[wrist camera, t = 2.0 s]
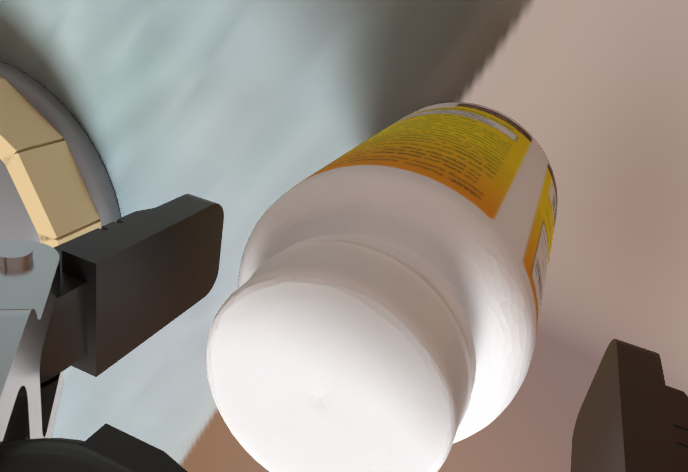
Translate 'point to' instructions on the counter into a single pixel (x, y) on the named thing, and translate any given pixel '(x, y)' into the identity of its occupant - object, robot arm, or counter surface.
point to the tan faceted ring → (47, 167)
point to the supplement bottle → (389, 298)
